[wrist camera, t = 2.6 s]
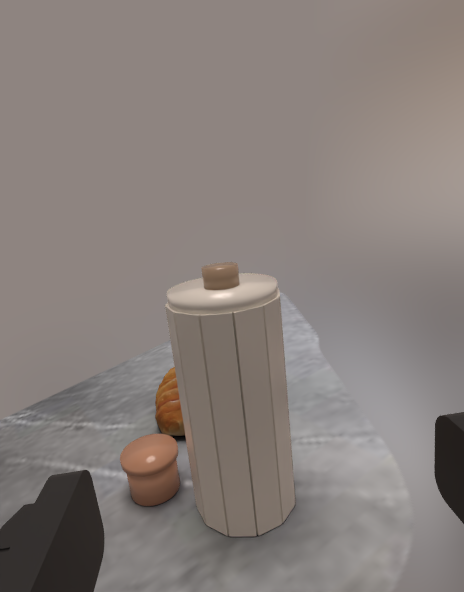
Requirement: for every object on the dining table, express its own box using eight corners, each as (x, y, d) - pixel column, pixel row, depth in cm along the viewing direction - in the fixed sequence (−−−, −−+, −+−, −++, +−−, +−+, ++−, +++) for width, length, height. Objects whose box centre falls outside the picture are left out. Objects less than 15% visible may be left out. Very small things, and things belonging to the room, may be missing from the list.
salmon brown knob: (133, 517, 22) (125, 479, 21) (123, 480, 25) (116, 445, 24) (190, 493, 23) (184, 456, 22) (174, 461, 26) (168, 427, 25)
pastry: (224, 444, 28) (217, 397, 27) (136, 444, 29) (127, 399, 28) (242, 381, 36) (237, 344, 36) (174, 383, 38) (168, 347, 37)
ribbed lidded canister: (220, 554, 19) (182, 286, 15) (184, 483, 24) (150, 268, 20) (315, 507, 21) (300, 262, 18) (264, 451, 26) (244, 252, 23)
